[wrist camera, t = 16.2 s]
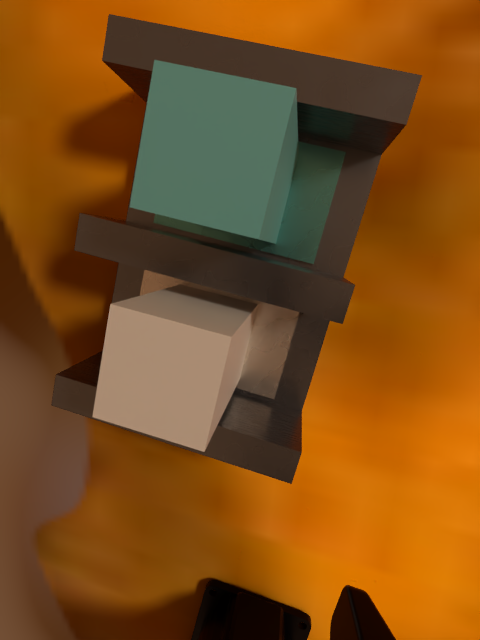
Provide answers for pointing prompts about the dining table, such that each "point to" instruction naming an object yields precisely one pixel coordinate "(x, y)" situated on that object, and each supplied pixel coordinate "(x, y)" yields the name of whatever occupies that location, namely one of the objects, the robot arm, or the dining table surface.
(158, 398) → the off-white plug
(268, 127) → the teal plug
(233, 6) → the dining table surface
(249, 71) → the slot rack
